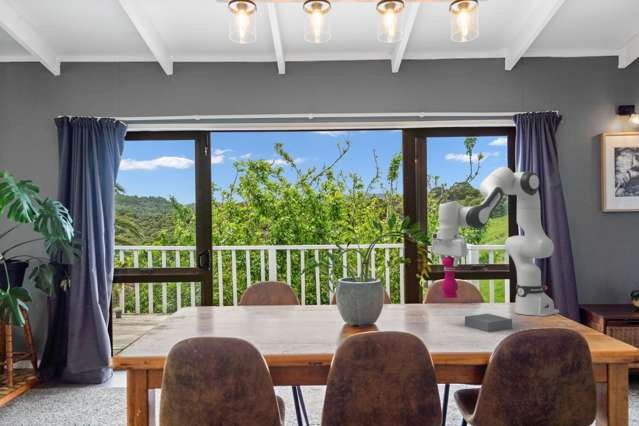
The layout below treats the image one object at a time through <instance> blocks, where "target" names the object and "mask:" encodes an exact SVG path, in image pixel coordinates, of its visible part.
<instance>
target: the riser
mask: <svg viewBox="0 0 639 426" xmlns="http://www.w3.org/2000/svg"><path fill="white" fill-rule="evenodd" d="M464 326H465V327H469V328H473V329H477V330H480V331H484V332H486V333H492V332H497V331H503V330H510V329H513V319H512V318H508V317H504V316H501V315H496V314H492V313H482V314H481V313H480V314H473V315H468V316H467V315H465V316H464Z"/></svg>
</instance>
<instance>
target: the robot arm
mask: <svg viewBox="0 0 639 426" xmlns="http://www.w3.org/2000/svg"><path fill="white" fill-rule="evenodd" d="M512 170H513V169H512ZM512 170H511V168H509V167H506V166H500V167H497V168H496V169H495V170H493V171H492V172H491V173H489V174H488V175H487V176H486V177H485V178H484V179H483V180H482V181H481V183H480V184H479V192H480V195H481V196H482V197H483V198H484V200H483V201H482V202H481V203H480V204H479V205H475V206H464V205H462V204H460V203H459V202H458V201H457V200H456V199H445V200H442V201H441V202H439V206H438V221H439V222H438V223H439V227H438V231H436V232H434V233H432V234H431V239H432V241H431V251H432V254H433V255H439V258H440V261H441V265H442V266H444V265H443V259H444V258H445V257H448V256H451V257H454V259H455V260H454V262H452V264H453V266H454V267H458V265H459V264H458V263H459V261H460V258H465V257H467V256H468V245H467V240H466V238H465V237H464V236H463V235H460V228H465V229H466V228H467V229H469V228H470V229H471V228H472V229H477V230H480V229H483V228H485V227H486V225H487V224H488V222H489V219H490V218H491V216H492V214H493V213H494V211H495V210H496V208H497V207H498V206H499V204H500V203H501V202H502V200H503V199H504V196H505V195H506V196H509V195H511V196H516V197H517V199H516V224H517V225H518V227H520V228H521V229H522V231H523V232H524V235H520V234H519V235H512V236H510V237H507V239H506V240H505V242H504V249H505V252H506V253H507V254H508V255H509V256H510V257H511V259H512V261H513V262H514V265H515V270H516V281H517V282H516V286H515V288H516V290H515V291H516V295H515V301H514V305H515V306H514V307H513V312H514V313H515V314H518V315H519V314H520V315H524V316H534V317H535V316H539V317H540V316H541V317H548V316H551V315H555V314H558V313H560V310H559V309H556V308H555V303H554V301H553V299H552V298H550V297H549V296H548V295H547V294H546V293H545V291H547V289H548V286H547V285H542V271H541V269H540V267H539V266H537V265H536V264H535V263H534V260H533V259H546V258H549V257H551V256H552V255H553V253H554V250H555V249H554V248H555V245H554V242H553V240H552V239H551V238H549V237H548V236H547V235H546V233H545V231H544V229H543V225H542V221H541V220H542V217H541V216H542V215H541V198H540V192H539V190H538V189H539V187H540V184H541V183H540V182H541V181H540V178H539V176H538V175H537V173H536V172H533V171H516V172H513V171H512ZM544 290H545V291H544Z"/></svg>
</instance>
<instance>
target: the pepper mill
mask: <svg viewBox="0 0 639 426" xmlns="http://www.w3.org/2000/svg"><path fill="white" fill-rule="evenodd" d="M454 260H455V259H454V256H445V257H444V259H443V265H442V266H444V267H443V270H444V273H445V274H444V279H443V281H442V284H441V289H442V297H443V298H447V299H456V298H458V293H457V291H458V290H459V285H458V282H457V280H456V278H455V271H456V266H453V264H452V262H454Z"/></svg>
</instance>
